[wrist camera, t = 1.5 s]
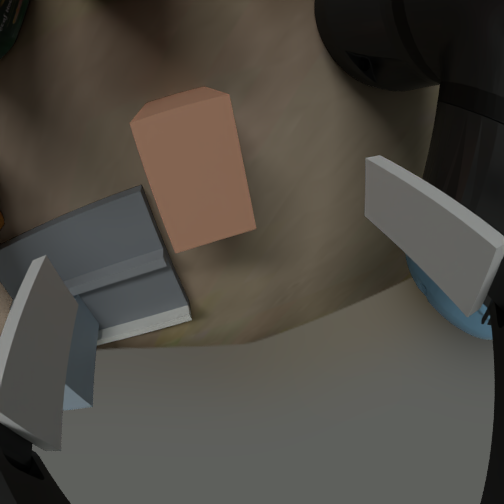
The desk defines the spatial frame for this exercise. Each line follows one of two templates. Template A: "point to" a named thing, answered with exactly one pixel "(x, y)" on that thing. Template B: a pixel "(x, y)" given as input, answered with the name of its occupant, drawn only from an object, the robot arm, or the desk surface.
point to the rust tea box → (194, 166)
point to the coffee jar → (10, 22)
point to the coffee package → (1, 220)
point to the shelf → (106, 265)
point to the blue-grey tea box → (81, 360)
